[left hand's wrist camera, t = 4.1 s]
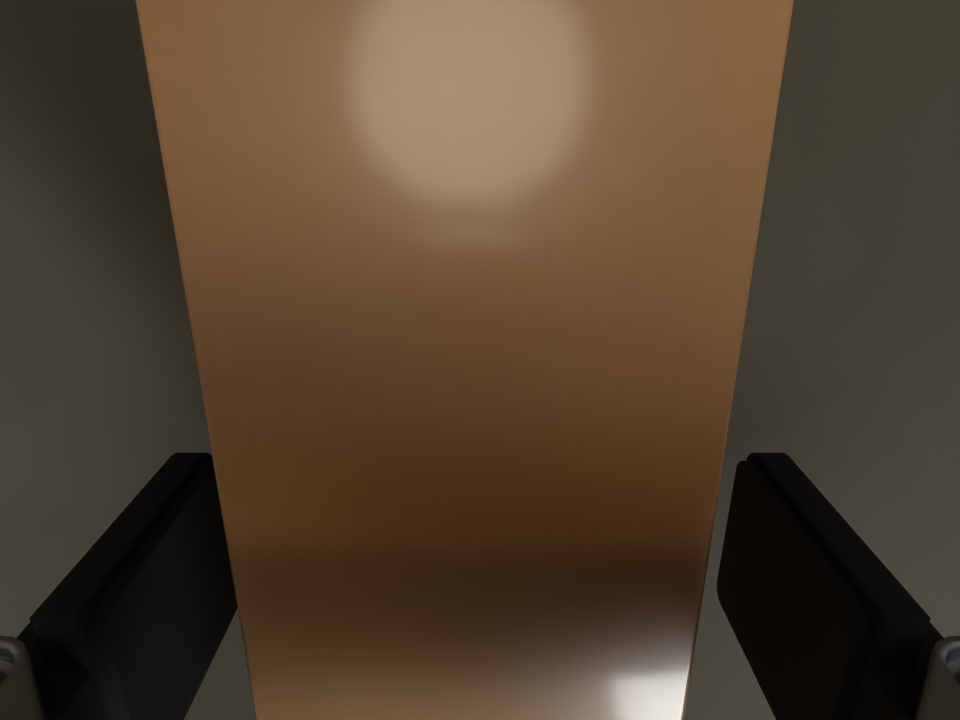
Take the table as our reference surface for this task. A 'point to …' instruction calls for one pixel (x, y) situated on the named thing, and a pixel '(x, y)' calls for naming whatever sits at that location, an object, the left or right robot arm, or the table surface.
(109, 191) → the table surface
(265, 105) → the bar
